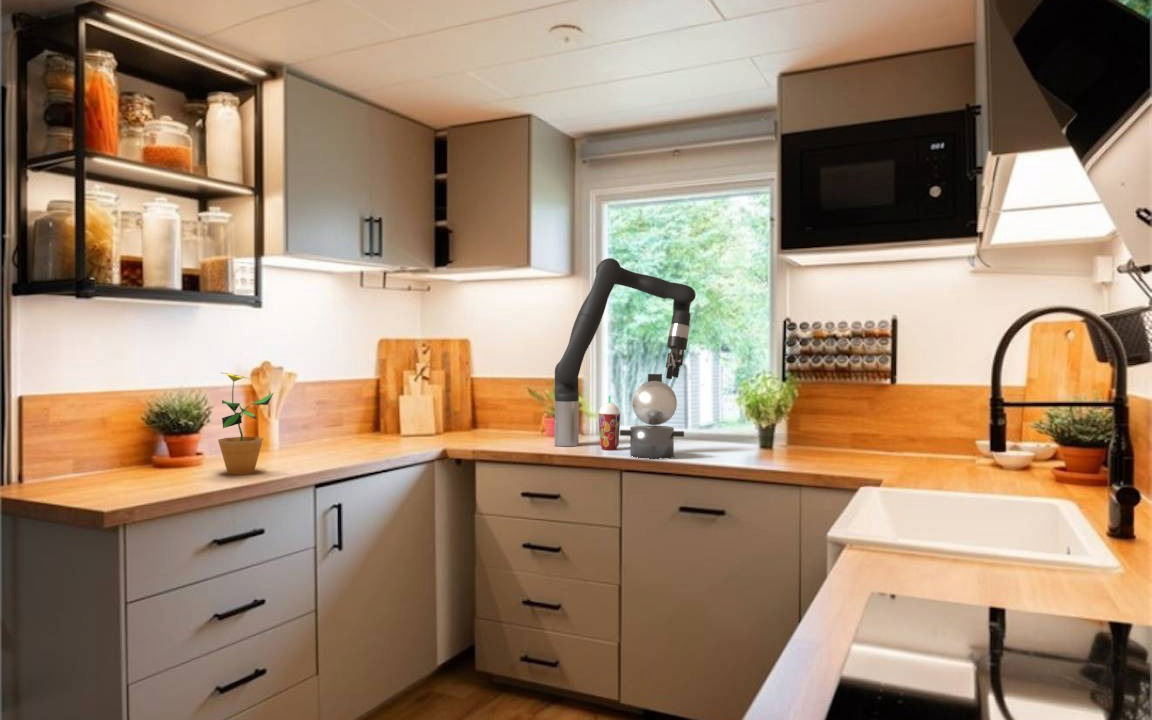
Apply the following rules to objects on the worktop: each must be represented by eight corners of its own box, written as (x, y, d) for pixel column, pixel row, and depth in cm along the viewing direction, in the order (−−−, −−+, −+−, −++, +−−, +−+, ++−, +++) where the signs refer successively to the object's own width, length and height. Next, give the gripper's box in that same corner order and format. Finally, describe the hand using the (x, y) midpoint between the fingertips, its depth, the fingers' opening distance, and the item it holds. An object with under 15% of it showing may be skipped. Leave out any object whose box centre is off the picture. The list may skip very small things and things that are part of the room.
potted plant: (248, 478, 218) (248, 372, 218) (193, 475, 223) (193, 372, 223) (287, 469, 235) (287, 371, 235) (236, 466, 241) (236, 370, 240)
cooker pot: (623, 452, 278) (623, 424, 278) (684, 453, 275) (684, 425, 274) (617, 458, 262) (617, 429, 262) (683, 460, 258) (683, 430, 258)
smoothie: (625, 449, 287) (625, 395, 286) (610, 451, 280) (610, 396, 280) (608, 447, 292) (608, 394, 292) (593, 449, 286) (593, 395, 286)
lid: (631, 424, 277) (632, 425, 279) (676, 425, 274) (676, 425, 276) (633, 373, 281) (633, 374, 283) (677, 373, 279) (677, 375, 281)
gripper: (664, 337, 305) (657, 377, 303) (674, 332, 291) (667, 374, 289) (682, 341, 306) (675, 381, 304) (693, 336, 292) (686, 378, 290)
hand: (671, 378), depth 296 cm, fingers open, 8 cm apart
